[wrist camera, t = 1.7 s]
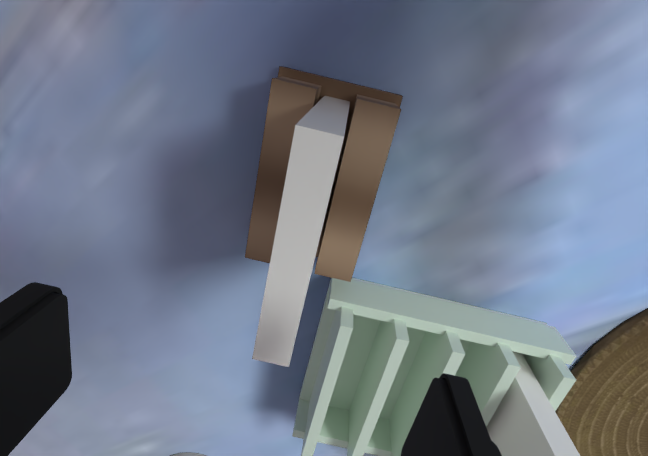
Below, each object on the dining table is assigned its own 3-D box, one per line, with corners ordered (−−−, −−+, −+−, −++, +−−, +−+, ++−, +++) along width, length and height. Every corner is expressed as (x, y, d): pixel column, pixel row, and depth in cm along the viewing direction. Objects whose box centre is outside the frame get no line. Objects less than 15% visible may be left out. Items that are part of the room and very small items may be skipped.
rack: (333, 268, 29) (320, 379, 19) (548, 318, 29) (650, 454, 19) (299, 396, 34) (275, 534, 24) (479, 437, 35) (530, 591, 25)
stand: (281, 66, 23) (268, 66, 20) (401, 95, 23) (409, 101, 20) (254, 236, 28) (239, 263, 24) (353, 260, 28) (353, 289, 25)
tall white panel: (324, 95, 23) (295, 125, 12) (350, 101, 23) (344, 136, 12) (294, 239, 27) (252, 358, 16) (316, 244, 27) (288, 367, 16)
